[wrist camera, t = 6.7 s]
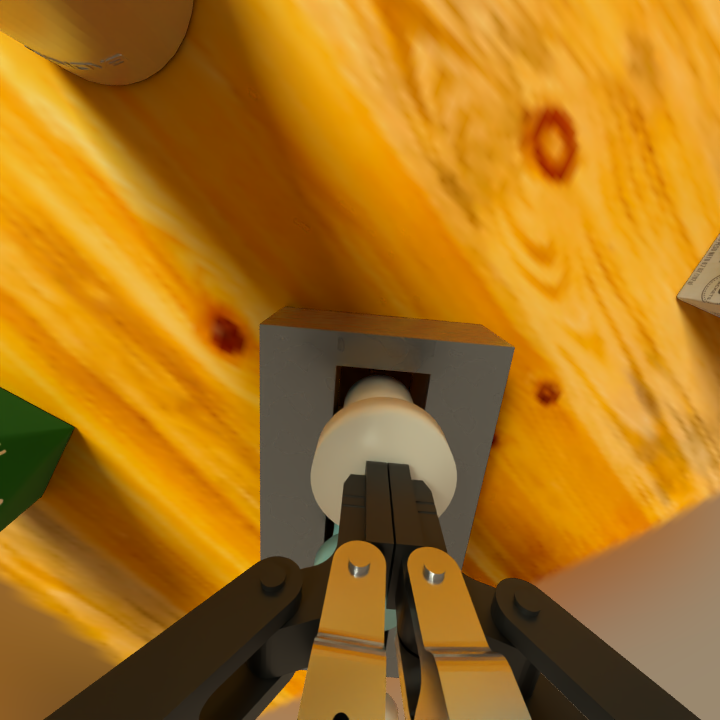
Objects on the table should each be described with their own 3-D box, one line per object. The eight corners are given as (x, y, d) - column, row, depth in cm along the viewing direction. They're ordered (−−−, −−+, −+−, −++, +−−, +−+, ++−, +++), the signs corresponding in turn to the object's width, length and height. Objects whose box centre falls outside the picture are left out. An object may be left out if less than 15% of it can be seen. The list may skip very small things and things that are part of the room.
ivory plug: (331, 354, 17) (313, 408, 11) (435, 364, 17) (469, 422, 11) (325, 445, 19) (307, 532, 13) (420, 453, 19) (443, 543, 13)
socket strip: (284, 306, 21) (259, 324, 16) (481, 324, 21) (514, 347, 16) (278, 595, 28) (261, 666, 23) (423, 608, 28) (434, 680, 24)
